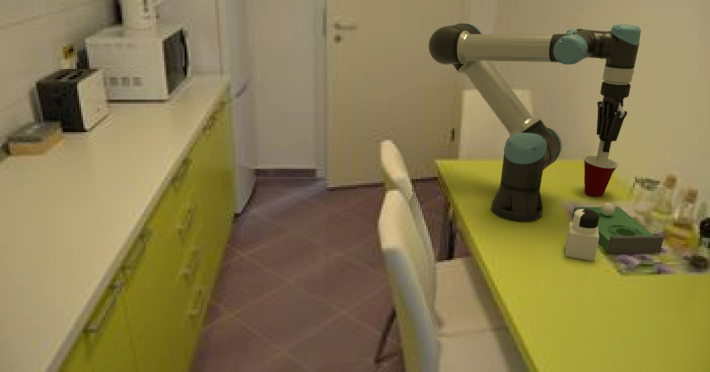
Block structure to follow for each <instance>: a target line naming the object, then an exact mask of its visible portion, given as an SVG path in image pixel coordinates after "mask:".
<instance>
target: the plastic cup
mask: <svg viewBox="0 0 710 372" xmlns="http://www.w3.org/2000/svg"><path fill="white" fill-rule="evenodd" d="M596 159H597V155H594V154H593V155H590V154H589V155H585V156H583V163H584V167H583V169H584V170H583V171H584V177H583V178H584V179H583V180H584V181H583V182H584V194H585V195H586V196H589V197H593V198H601V197H604V195H605V192H606V189H607V187H608V185H609V183H610V180H611V178H612V175H613V173H614V172H615V170H616V169H617V168H618V167H619V165H620V164H619V163H618V161H615V160H613V159H611V158H608V161H607V162H598V161H596Z"/></svg>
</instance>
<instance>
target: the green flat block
mask: <svg viewBox="0 0 710 372" xmlns="http://www.w3.org/2000/svg"><path fill="white" fill-rule="evenodd" d="M614 207H615V212H614V213H613V214H612V215H610V216H605V215H603V214H602V213H601V212H600V206H578V207H577V206H576V207H575V206H574V207H573V211H572V217H573V218H574V213H575V211H576V210H579V209H589V210H592V211H594V212H596V213H598V215H599V221H598V232H599V241H598V244H600V245H601V246H602V248H603V249H605V250H606V251H607V252H608V253H609V254H650V253H651V254H653V253H656V254H657V253H659V254H660V253H661V251H662V245H663V243H664V236H663V235H661V234H660V235H657V234H656V235H655V234H653V233H652V232H650V231H649V230H647V228H645V227H644V226H643V225H642V224H641V223H639V222H638V221H637V220H636V219H635V218H633V217H632V216H631V215H630V214H628V213H627V212H626V211H625V210H624V209H622V208H621V207H620V206H614Z"/></svg>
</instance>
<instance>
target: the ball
mask: <svg viewBox="0 0 710 372" xmlns="http://www.w3.org/2000/svg"><path fill="white" fill-rule="evenodd" d="M599 207H600V212H601V213H602V214H603V215H605V216H610V215H612V214H613V213H614V212H615V207H616V206H615V205H614V204H613V203H611V202H609V201H607V202H603V203H602V204H600V206H599Z"/></svg>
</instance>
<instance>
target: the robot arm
mask: <svg viewBox="0 0 710 372" xmlns="http://www.w3.org/2000/svg"><path fill="white" fill-rule="evenodd" d="M641 33H642V30H641V27H640V26H638V25H634V24H632V25H631V24H622V23H621V24H620V23H618V24H613V25H612V27H611V28H610V30H608V31H607V30H605V31H604V30H595V29H593V30H592V29H583V28H569V29H567V30H566V32H565V33H526V34H525V33H523V34H522V33H519V34H518V33H512V34H511V33H508V34H507V33H504V34H503V33H493V34H492V33H489V34H488V33H487V34H486V33H483V32H482V30H481V29H480V28H478V26H476V25H474V24H471V23H468V22H467V23H466V22H460V23H456V24H453V25H447V26H442V27H439V28H438V29H437V30H435V31H434V32H433V33H432V34H431V36H430V38H429V41H428V52H429V54H430V56H431V58H432V59H433V60H434V61H435V62H436V63H439V64H441V65H452V66H453V67H454V69H455V70H456V71H457V73H458V74H464V75H466V77H467V78H468V79H469V81H470V82H471V83H472V85H473V87H474V88H475V89H476V90H477V91H478V93H479V94H480V95H481V97H482V98H483V99H484V101H485V102H486V104H487V105H488V106H489V108H490V109H491V110H492V112H493V113H494V114H495V116H496V117H497V118H498V120H499V121H500V123H501V124H502V125H503V127H504V128H505V129H506V130H507V132H508V134H509V137H508V138H507V139H506V140H505V145H504V148H503V160H502V166H501V167H502V168H501V177H500V184H499V187H498V188H497V191H496V192H495V195H494V197H493V199H492V203H491V208H490V209H491V211H492V212H493V213H494V214H495V215H496V216H498V217H500V218H502V219H506V220H510V221H514V222H532V221H537V220H539V219H541V218H542V216H543V211H544V206H543V205H544V204H543V200H542V195H541V186H542V185H541V184H542V180H543V179H542V178H543V172H544V170H546V169H547V168H548V167H550V166H551V165H552V164H554V163H555V162H556V161H557V159H558V158H559V157H560V154H561V152H562V147H563V142H562V139H561V137H560V135H559V133H558V132H557V131H556V130H555V129H553V128H551V127H547V126H546V125H545V123H544V122H543V121H542V119H541V118H537V117H533V116H532V114H531V113H530V112H529V110H528V109H527V108H526V106H525V105H524V104H523V102H522V101H521V100H520V98H519V97H518V96H517V94H516V93H515V91H513V89H512V87H510V85H509V83H508V82H507V81H506V79H505V78H504V76H502V74H501V73H500V72H499V70H498V69H497V68H496V66H495V65H494V63H493V62H530V63H532V62H533V63H539V62H541V63H560V64H562V65H575V64H578V63H579V62H581V61H582V60H584V59H587V58H589V59H600V60H605V63H604V69H603V73H602V80H603V81H602V82H601V87H600V92H599V93H600V95H601V96H603V97H602V100H599V101H597V103H596V104H597V120H596V121H597V122H596V135H597V136H598V138H599V142H598V149H597V154H596V156H597V159H596V161H598V162H607V161H608V159H609V155H610V149H611V145H612V142H617V141H618V137H619V134H620V131H621V129H622V126H623V123H624V119H625V118H626V117H627V115H628V111H627V110H624V109H623V107H624V99H626V98H628V97H629V96H630V91H631V87H632V85H631V82H632V80H633V75H634V73H635V70H634V69H635V66H636V62H637V55H638V52H639V48H640V39H641Z"/></svg>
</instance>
